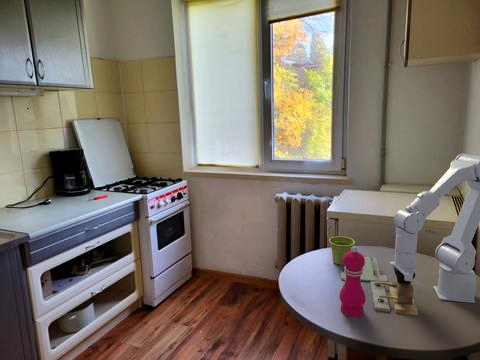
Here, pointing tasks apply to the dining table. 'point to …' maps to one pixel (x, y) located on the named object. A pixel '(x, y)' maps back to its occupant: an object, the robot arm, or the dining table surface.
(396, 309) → the trammel beam
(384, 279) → the metal bracket
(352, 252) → the pepper mill
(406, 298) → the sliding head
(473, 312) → the dining table surface
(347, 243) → the plant pot
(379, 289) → the bolt strip
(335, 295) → the dining table surface
